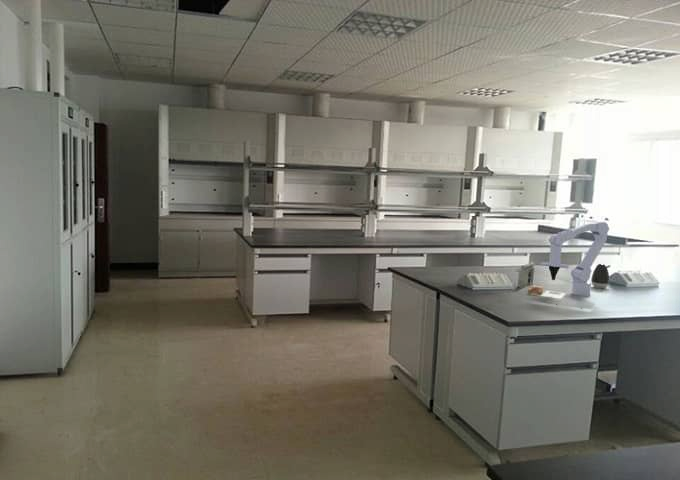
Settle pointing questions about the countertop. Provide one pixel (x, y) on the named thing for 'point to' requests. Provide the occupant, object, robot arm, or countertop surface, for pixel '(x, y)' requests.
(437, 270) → the countertop surface
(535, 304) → the countertop surface
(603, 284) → the potted cactus
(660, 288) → the countertop surface
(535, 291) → the block
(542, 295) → the trap board
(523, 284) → the geiger counter
